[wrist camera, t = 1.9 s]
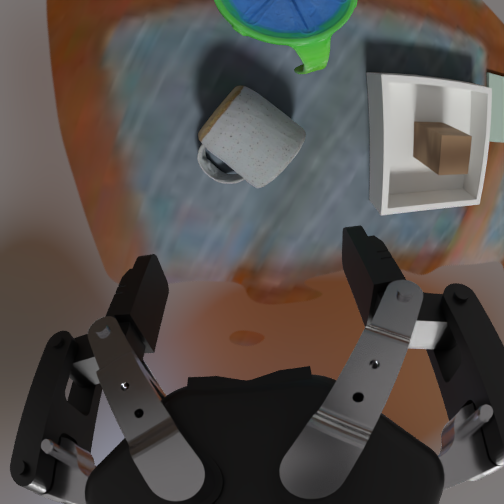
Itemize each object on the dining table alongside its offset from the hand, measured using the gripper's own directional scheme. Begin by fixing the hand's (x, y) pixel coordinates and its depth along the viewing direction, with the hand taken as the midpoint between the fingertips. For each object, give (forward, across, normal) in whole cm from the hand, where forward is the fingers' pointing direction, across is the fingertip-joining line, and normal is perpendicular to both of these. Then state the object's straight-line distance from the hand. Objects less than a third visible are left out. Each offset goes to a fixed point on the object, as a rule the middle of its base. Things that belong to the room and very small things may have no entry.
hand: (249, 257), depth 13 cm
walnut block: (+22, -22, +2) cm, 31 cm away
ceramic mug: (+22, 0, 0) cm, 22 cm away
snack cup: (+22, -5, -14) cm, 27 cm away
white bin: (+22, -22, +2) cm, 31 cm away
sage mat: (+22, -38, -3) cm, 44 cm away
